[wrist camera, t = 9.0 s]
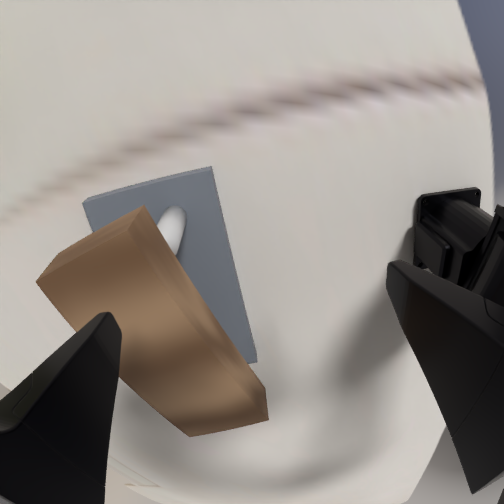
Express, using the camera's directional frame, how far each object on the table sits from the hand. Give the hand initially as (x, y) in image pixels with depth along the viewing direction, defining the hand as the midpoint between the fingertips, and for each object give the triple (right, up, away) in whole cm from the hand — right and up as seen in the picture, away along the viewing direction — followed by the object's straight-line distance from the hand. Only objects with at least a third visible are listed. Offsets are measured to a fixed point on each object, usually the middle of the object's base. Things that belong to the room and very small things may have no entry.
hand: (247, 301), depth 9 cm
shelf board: (-5, -4, +10) cm, 12 cm away
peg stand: (-5, -1, +14) cm, 15 cm away
